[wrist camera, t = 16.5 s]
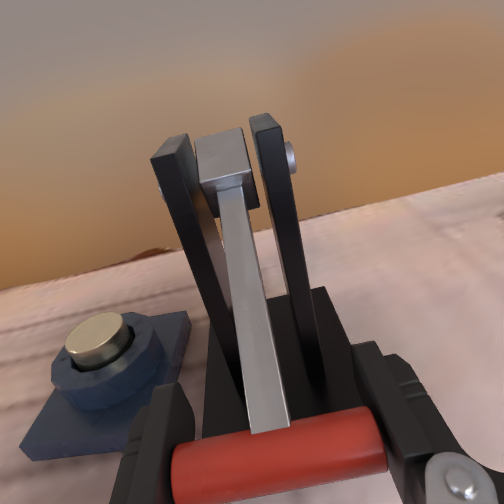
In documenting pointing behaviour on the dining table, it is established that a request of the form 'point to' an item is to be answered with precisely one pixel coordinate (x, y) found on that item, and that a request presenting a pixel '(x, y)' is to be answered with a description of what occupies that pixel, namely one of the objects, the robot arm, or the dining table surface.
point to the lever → (262, 373)
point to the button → (99, 341)
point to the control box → (107, 391)
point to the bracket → (280, 308)
